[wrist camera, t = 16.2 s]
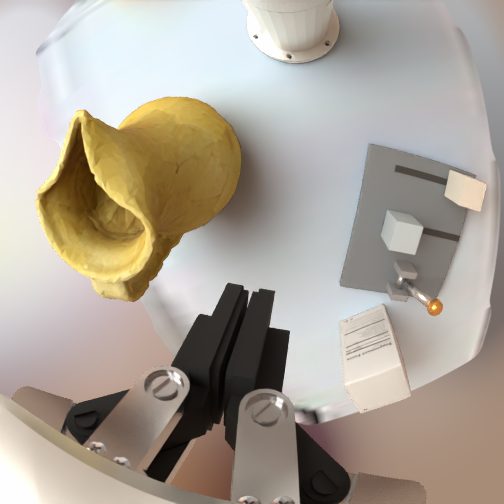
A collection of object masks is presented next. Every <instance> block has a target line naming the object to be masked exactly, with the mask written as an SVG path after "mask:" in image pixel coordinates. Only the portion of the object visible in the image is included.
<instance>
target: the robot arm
mask: <svg viewBox="0 0 504 504" xmlns="http://www.w3.org/2000/svg"><path fill="white" fill-rule="evenodd" d="M241 1H242V3H243V4H244V6H245V8H246V9H247V11H248V17H247V30H248V34H249V36H250V38H251V40H252V42H253V43H254V45H255V46H256V47H257V48H258V49H259V50H260V51H261V52H263V53H264V54H266V55H267V56H269V57H271V58H273V59H275V60H279V61H282V62H288V63H304V62H309V61H312V60H315V59H318V58H320V57H321V56H323V55H325V54H326V53H327V52H328V51H330V50H331V48H332V47H333V46H334V44H335V43H336V40H337V38H338V35H339V28H340V25H339V19H338V16H337V14H336V12H335V10H334V9H333V7H332V6H333V1H334V0H241ZM256 37H259V38H258V39H255V38H256ZM325 44H328V45H329V46H326V45H325ZM289 56H291V57H292V58H291V59H289V58H288V57H289ZM248 294H249V291H248V290H244V286H243V285H237V284H232V283H228V284H227V285H226V288H225V290H224V292H223V294H222V296H221V298H220V300H219V302H218V304H217V306H216V308H215V310H214V312H213V314H212V316H208V315H203V314H200V315H198V317H197V318H196V320H195V322H194V324H193V326H192V328H191V329H190V331H189V333H188V335H187V337H186V339H185V340H184V342H183V344H182V346H181V348H180V350H179V351H178V353H177V355H176V357H175V359H174V361H173V363H172V365H171V366H157V367H154V368H151V369H149V370H147V371H146V372H145V373H144V374H143V375H142V376H141V377H140V378H139V380H138V381H137V382H136V383H135V384H134V386H133V387H132V388H131V389H129V390H125V391H121V392H118V393H115V394H111V395H107V396H103V397H100V398H96V399H92V400H88V401H84V402H81V403H78V404H76V403H74V402H73V400H71V399H67V398H63V397H60V396H57V395H54V394H51V393H47V392H44V391H41V390H39V389H35V388H33V387H28V386H26V387H22V388H20V389H18V390H17V391H16V392H15V394H14V395H13V397H12V399H9V398H8V397H6V396H4V395H2V394H0V504H425V503H426V491H425V489H424V487H423V486H422V485H421V484H420V483H419V482H416V481H412V480H404V479H396V478H389V477H382V476H376V475H371V474H365V473H360V472H359V473H358V474H353V473H349V472H346V471H345V469H344V468H343V467H342V466H340V465H339V464H338V463H337V462H336V461H335V460H334V459H333V458H332V457H331V456H330V455H329V454H328V453H327V452H325V451H324V450H323V449H322V448H321V447H320V446H319V445H318V444H317V443H316V442H315V441H314V440H313V439H312V438H311V437H310V436H309V435H308V434H307V433H306V432H305V431H304V430H303V429H302V428H301V427H300V426H299V425H298V424H297V423H296V422H295V412H294V407H293V404H292V402H291V401H290V399H289V398H288V397H287V396H285V395H284V394H283V393H282V387H283V380H284V373H285V366H286V358H287V351H288V343H289V335H290V331H288V330H282V329H276V328H270V327H269V325H270V319H271V313H272V307H273V301H274V294H275V291H272V290H266V289H259V292H254V291H253V293H252V296H251V299H250V302H249V305H248V308H247V304H248ZM223 412H224V426H226V428H225V440H226V441H227V442H228V444H229V445H230V446H231V448H232V449H233V450H234V461H233V472H232V484H231V496H230V497H231V498H230V501H226V500H221V499H217V498H213V497H209V496H204V495H201V494H197V493H194V492H190V491H187V490H184V489H180V488H177V487H174V486H171V485H169V484H170V483H171V481H172V479H173V478H174V476H175V475H176V473H177V471H178V470H179V468H180V466H181V465H182V463H183V461H184V459H185V458H186V456H187V455H188V453H189V451H190V450H191V448H192V446H193V445H194V443H195V440H196V438H197V437H200V436H202V435H205V434H206V431H207V430H210V431H211V430H212V427H213V424H214V423H215V424H220V421H221V418H222V415H223Z"/></svg>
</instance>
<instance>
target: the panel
mask: <svg viewBox="0 0 504 504" xmlns="http://www.w3.org/2000/svg"><path fill="white" fill-rule="evenodd" d="M450 170H453V171H455V172H458V173H461V174H464V175H467V176H470V177H472V178H474V179H475V177H476V175H474V174H471V173H469V172H466V171H463V170H460V169H458V168H455V167H452V166H449V165H446V164H443V163H440V162H437V161H433V160H430V159H427V158H423V157H420V156H417V155H413V154H410V153H406V152H402V151H398V150H394V149H391V148H387V147H382V146H378V145H374V144H369V145H368V152H367V158H366V164H365V170H364V176H363V181H362V187H361V192H360V197H359V202H358V207H357V212H356V216H355V221H354V226H353V230H352V234H351V239H350V243H349V247H348V251H347V255H346V259H345V263H344V267H343V271H342V274H341V278H340V286H343V287H349V288H356V289H363V290H369V291H376V292H383V293H388V294H389V296H390V299H391V300H396V301H404V302H407V299H408V297H409V296H412V297H414V296H413V295H412V294H410V293H409V292H408V291H407V290H405V289H404V288H403V287H402V288H401V289H398V288H396V287H395V284H396V281H397V278H398V276H399V277H403V278H406V279H408V280H409V281H410V282H411V283H413V284H414V285H415V286H417V287H418V288H419V289H420V290H422V291H423V292H424V293H426V294H427V295H428V296H429V297H431V298H432V299H436V297H437V295H438V293H439V290H440V288H441V286H442V283H443V281H444V278H445V276H446V273H447V271H448V268H449V266H450V263H451V260H452V257H453V255H454V252H455V249H456V246H457V243H458V241H459V238H460V234H461V231H462V227H463V224H464V221H465V217H466V214H467V210H468V208H466V207H462V206H459V205H458V204H456V203H455V202H453V201H452V200H450V199H449V198H447V197H445V196H444V194H445V190H446V185H447V181H448V176H449V171H450ZM387 210H392V211H396V212H401V213H405V214H410V215H412V216H413V217H414V218H415V219H416V220H417V221H418V222H419V223H420V224H421V225H422V226H423V231H422V234H421V237H420V241H419V244H418V247H417V250H416V253H415V255H413V254H408V253H402V252H397V251H391V250H389V249H388V247H387V246H386V244H385V242H384V240H383V239H382V237H381V232H382V228H383V225H384V220H385V216H386V212H387Z"/></svg>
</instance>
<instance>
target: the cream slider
mask: <svg viewBox="0 0 504 504" xmlns="http://www.w3.org/2000/svg"><path fill="white" fill-rule="evenodd" d="M486 186H487V184H485V183H483V182H481V181H479V180H476V179H474V178H472V177H470V176H467V175H464V174H461V173H458V172H455V171H453V170H450V171H449V176H448V181H447V185H446V190H445V194H444V196H445V197H447V198H449V199H450V200H452V201H453V202H455V203H456V204H458V205H459V206H462V207H466V208H469V209H472V210H475V211H478V212H480V211H481V207H482V203H483V199H484V195H485V191H486Z"/></svg>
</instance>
